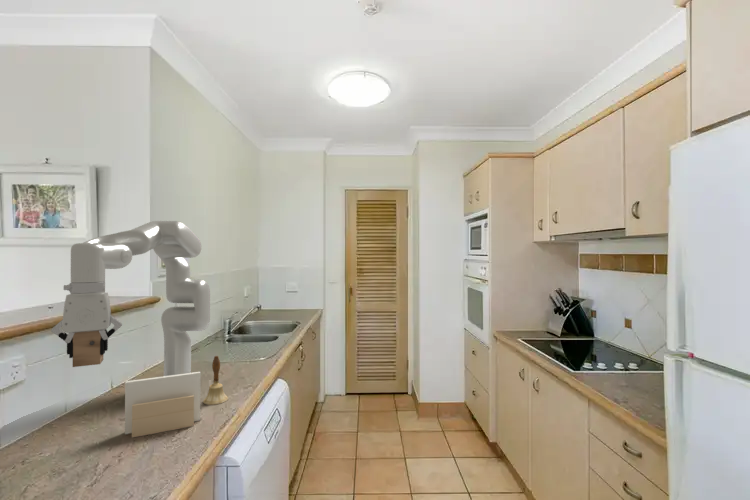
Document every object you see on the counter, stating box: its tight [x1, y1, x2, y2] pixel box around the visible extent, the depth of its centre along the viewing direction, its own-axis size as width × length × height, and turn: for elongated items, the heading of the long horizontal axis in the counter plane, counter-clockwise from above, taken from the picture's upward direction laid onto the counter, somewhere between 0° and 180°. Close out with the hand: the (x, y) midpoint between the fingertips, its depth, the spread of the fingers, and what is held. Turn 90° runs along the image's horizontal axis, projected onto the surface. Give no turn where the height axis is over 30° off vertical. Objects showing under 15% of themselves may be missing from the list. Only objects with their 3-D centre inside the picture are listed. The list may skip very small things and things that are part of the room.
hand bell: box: [202, 355, 229, 406], centre depth 137 cm, size 8×8×16 cm
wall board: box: [124, 371, 201, 438], centre depth 115 cm, size 5×20×15 cm, turn 118°
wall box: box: [72, 331, 104, 368], centre depth 105 cm, size 9×6×10 cm
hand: (87, 354), depth 103 cm, fingers closed on wall box, 6 cm apart
